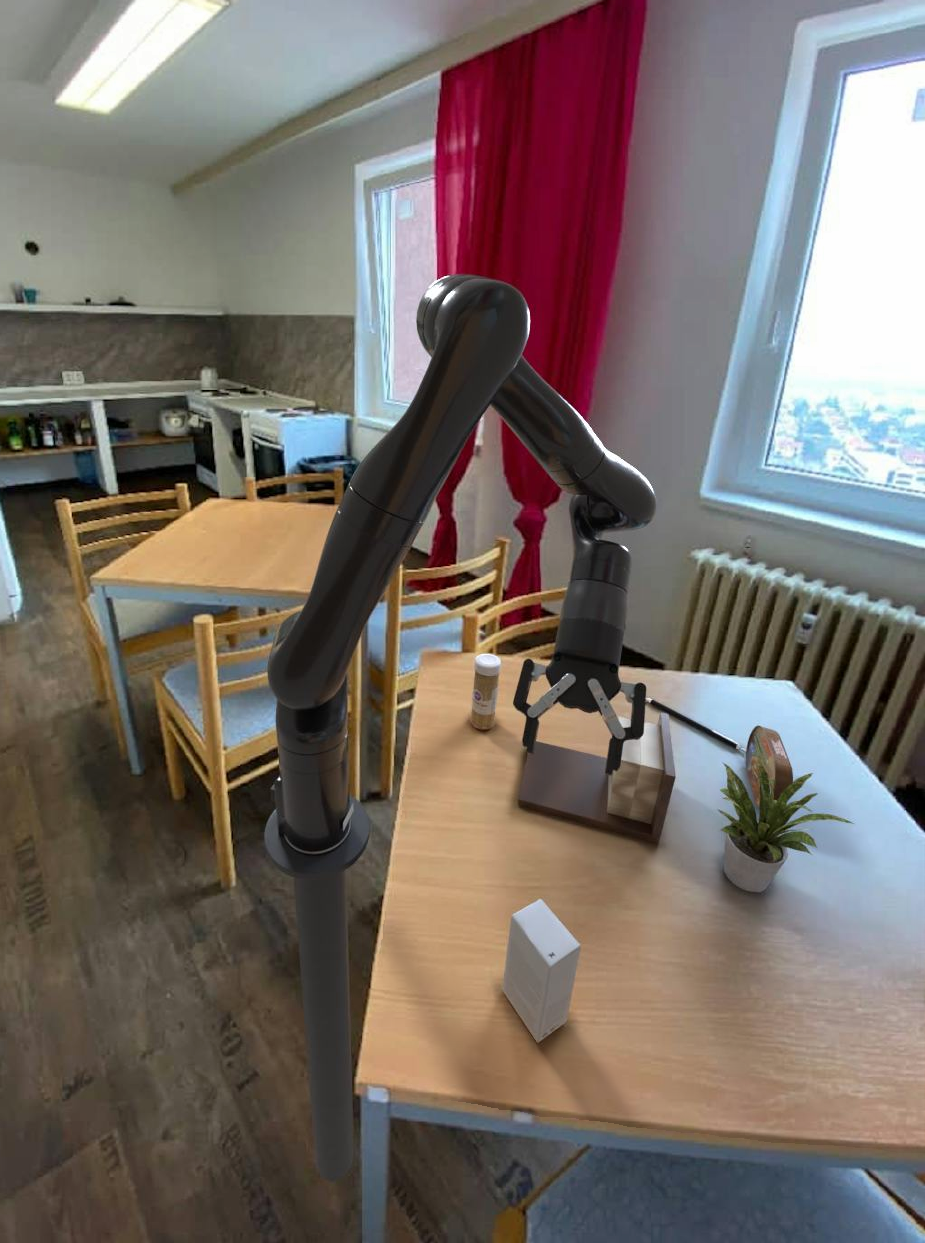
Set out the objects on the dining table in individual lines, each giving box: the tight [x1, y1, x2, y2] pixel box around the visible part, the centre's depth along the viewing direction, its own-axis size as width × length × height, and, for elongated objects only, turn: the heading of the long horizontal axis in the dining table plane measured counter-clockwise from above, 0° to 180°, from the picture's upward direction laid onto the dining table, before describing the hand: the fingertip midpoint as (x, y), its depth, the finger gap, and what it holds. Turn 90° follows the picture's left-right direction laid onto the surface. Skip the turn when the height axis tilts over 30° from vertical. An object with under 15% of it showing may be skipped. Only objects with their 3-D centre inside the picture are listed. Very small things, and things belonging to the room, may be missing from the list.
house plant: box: [717, 751, 855, 893], centre depth 75 cm, size 14×14×16 cm
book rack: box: [517, 712, 677, 844], centre depth 89 cm, size 20×14×12 cm
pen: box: [646, 697, 746, 753], centre depth 106 cm, size 1×19×1 cm, turn 39°
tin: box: [744, 725, 794, 808], centre depth 91 cm, size 15×3×8 cm, turn 161°
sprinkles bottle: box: [469, 653, 502, 731], centre depth 103 cm, size 5×5×14 cm
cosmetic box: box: [501, 898, 581, 1044], centre depth 60 cm, size 6×4×12 cm
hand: (568, 763), depth 65 cm, fingers open, 8 cm apart
